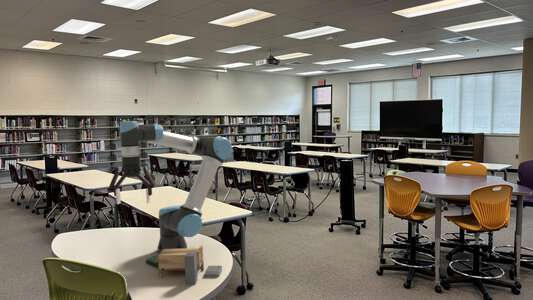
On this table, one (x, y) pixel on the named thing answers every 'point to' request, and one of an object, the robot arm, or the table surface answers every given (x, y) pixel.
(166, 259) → the cabinet
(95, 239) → the table surface
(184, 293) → the table surface
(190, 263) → the grey rectangular block
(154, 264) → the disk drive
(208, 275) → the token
